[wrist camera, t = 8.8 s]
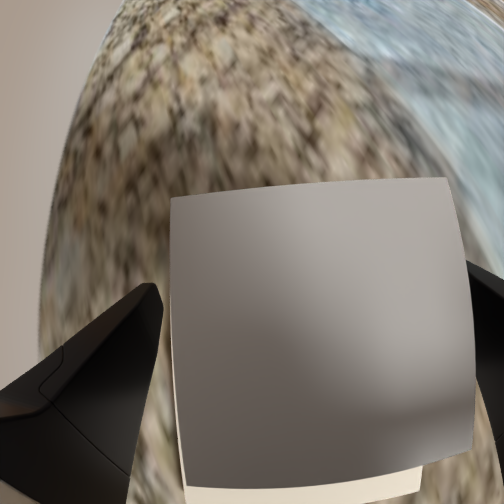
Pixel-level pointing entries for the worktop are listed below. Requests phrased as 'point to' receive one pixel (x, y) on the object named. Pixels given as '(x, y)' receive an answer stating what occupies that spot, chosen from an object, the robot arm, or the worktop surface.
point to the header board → (305, 498)
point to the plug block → (320, 332)
